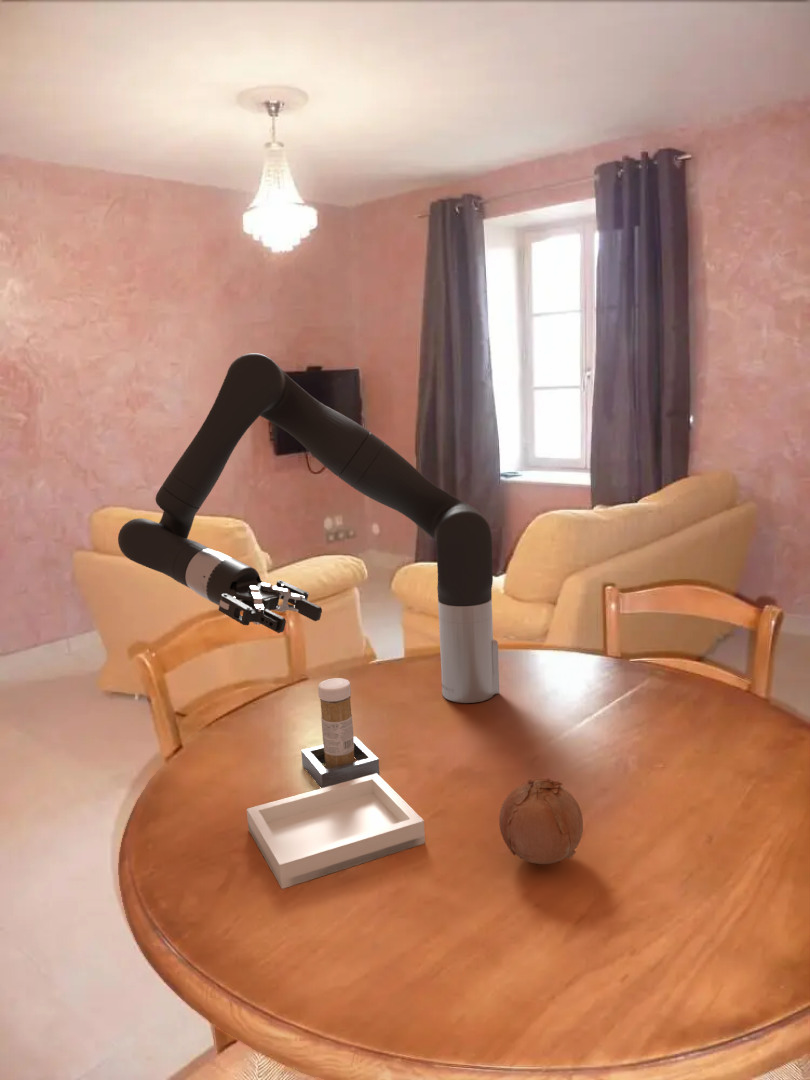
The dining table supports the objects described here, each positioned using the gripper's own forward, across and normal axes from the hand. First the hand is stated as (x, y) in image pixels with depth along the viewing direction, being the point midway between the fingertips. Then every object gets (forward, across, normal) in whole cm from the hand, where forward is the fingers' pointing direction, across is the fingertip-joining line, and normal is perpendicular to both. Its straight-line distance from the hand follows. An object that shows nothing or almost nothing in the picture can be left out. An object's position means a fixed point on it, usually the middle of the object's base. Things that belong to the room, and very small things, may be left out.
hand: (302, 620), depth 121 cm
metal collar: (+13, -1, +18) cm, 22 cm away
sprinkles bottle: (+13, -1, +18) cm, 23 cm away
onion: (+46, -9, +9) cm, 48 cm away
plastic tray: (+22, -16, +16) cm, 32 cm away
